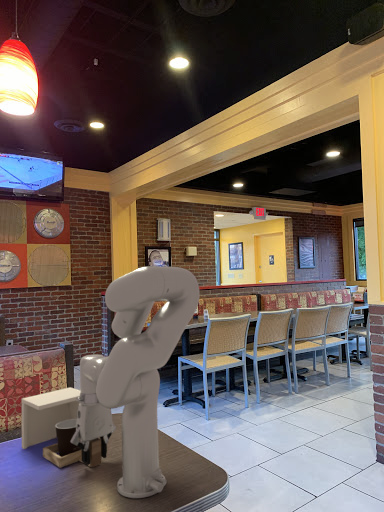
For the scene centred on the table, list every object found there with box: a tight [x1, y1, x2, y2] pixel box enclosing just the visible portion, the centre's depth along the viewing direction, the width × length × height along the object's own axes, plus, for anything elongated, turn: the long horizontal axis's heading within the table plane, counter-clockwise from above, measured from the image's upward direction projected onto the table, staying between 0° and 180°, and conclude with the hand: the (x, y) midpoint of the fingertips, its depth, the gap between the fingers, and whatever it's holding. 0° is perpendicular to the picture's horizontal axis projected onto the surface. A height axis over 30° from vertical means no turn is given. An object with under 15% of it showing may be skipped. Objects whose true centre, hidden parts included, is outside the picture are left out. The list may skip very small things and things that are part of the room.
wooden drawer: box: [42, 437, 102, 468], centre depth 116 cm, size 20×15×7 cm
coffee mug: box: [55, 419, 81, 457], centre depth 119 cm, size 12×9×10 cm
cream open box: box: [21, 387, 81, 450], centre depth 128 cm, size 14×18×16 cm
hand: (94, 459), depth 110 cm, fingers open, 4 cm apart
